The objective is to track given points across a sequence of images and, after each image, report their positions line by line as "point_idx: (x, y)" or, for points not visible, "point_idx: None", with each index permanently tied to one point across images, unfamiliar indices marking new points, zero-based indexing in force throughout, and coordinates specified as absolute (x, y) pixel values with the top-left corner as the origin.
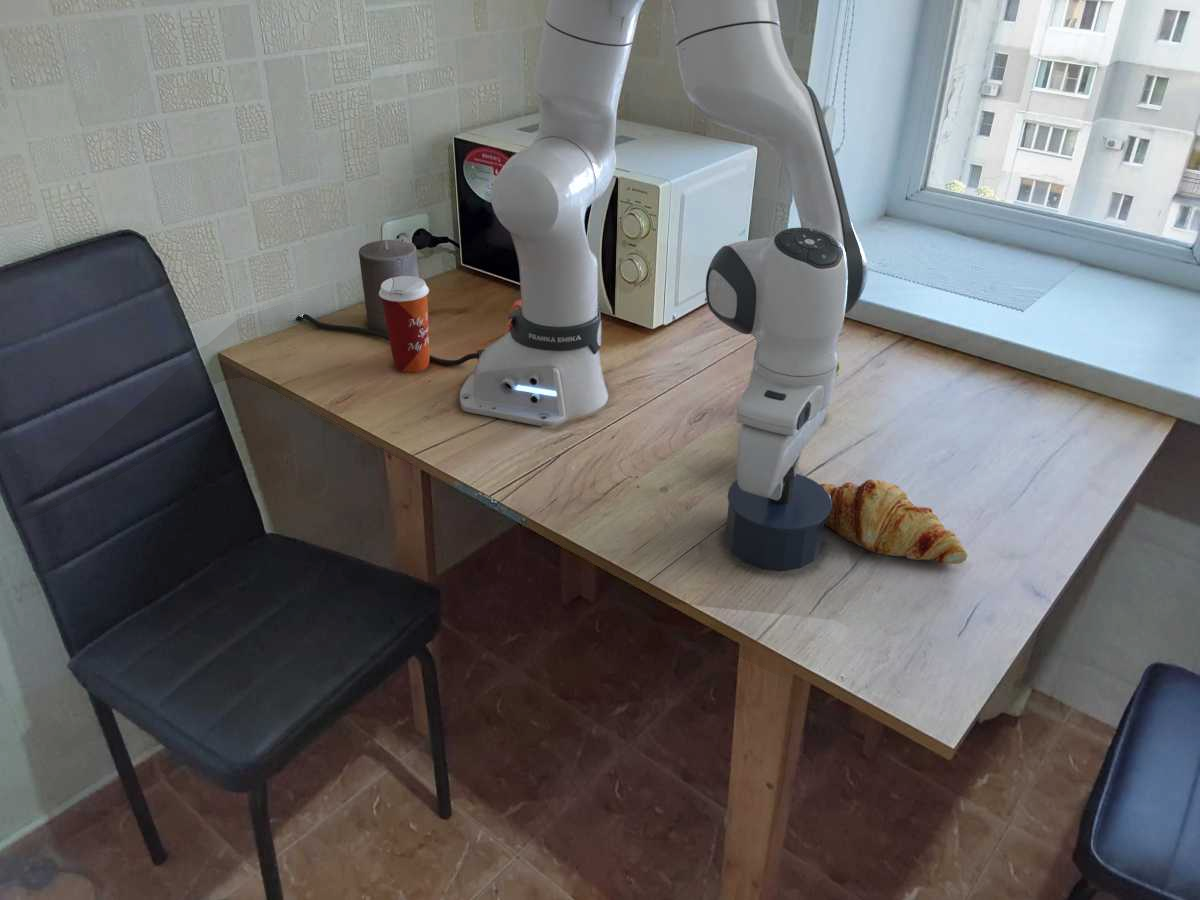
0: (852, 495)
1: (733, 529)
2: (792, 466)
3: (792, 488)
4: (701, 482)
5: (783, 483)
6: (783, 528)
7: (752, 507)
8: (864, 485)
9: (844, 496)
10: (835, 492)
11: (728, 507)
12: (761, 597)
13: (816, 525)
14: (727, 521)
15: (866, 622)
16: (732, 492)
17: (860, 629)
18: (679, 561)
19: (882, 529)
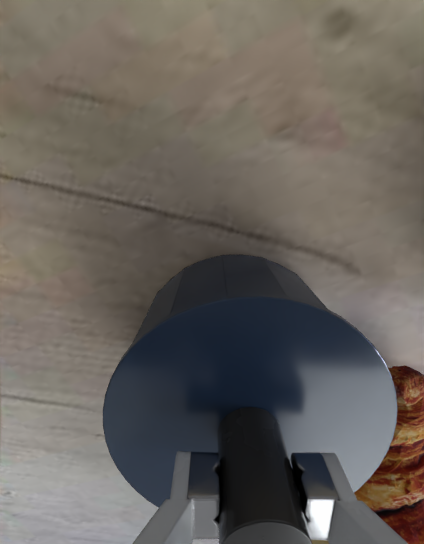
0: (374, 503)
1: (145, 319)
2: (331, 537)
3: (311, 444)
4: (408, 112)
5: (208, 536)
6: (123, 473)
7: (166, 389)
8: (406, 538)
9: (368, 488)
10: (389, 458)
11: (173, 306)
12: (86, 369)
13: None
14: (176, 290)
15: (126, 493)
16: (209, 316)
17: (108, 490)
18: (86, 203)
19: None
